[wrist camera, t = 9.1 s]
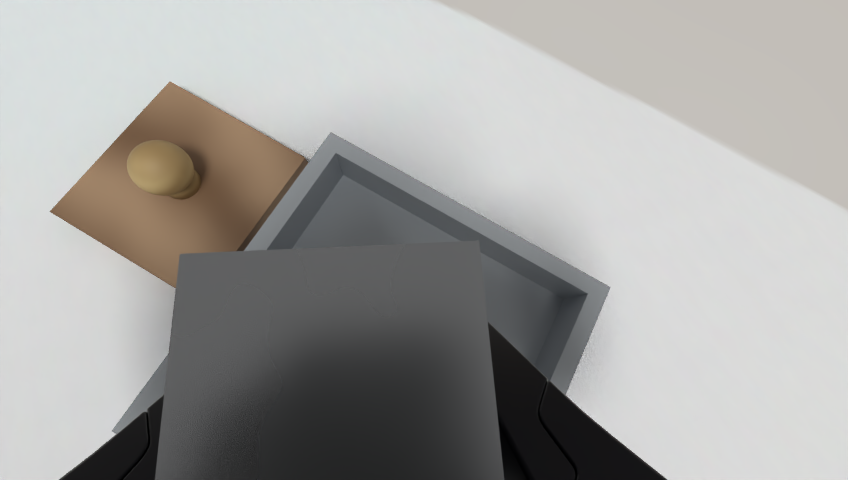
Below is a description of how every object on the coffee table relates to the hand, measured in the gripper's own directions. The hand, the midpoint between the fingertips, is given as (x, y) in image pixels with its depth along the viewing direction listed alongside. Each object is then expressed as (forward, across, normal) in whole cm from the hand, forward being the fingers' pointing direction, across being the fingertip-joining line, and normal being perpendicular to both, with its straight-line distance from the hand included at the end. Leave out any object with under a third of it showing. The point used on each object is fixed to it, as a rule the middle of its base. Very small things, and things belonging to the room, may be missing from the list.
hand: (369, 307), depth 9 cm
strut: (+4, 0, +6) cm, 7 cm away
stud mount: (+13, +10, +2) cm, 17 cm away
